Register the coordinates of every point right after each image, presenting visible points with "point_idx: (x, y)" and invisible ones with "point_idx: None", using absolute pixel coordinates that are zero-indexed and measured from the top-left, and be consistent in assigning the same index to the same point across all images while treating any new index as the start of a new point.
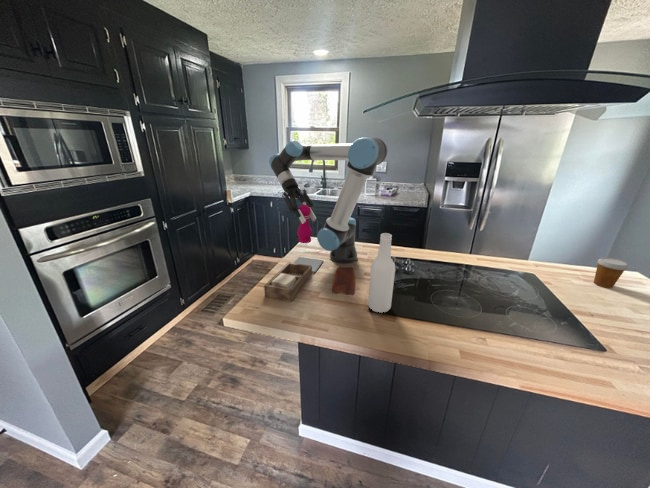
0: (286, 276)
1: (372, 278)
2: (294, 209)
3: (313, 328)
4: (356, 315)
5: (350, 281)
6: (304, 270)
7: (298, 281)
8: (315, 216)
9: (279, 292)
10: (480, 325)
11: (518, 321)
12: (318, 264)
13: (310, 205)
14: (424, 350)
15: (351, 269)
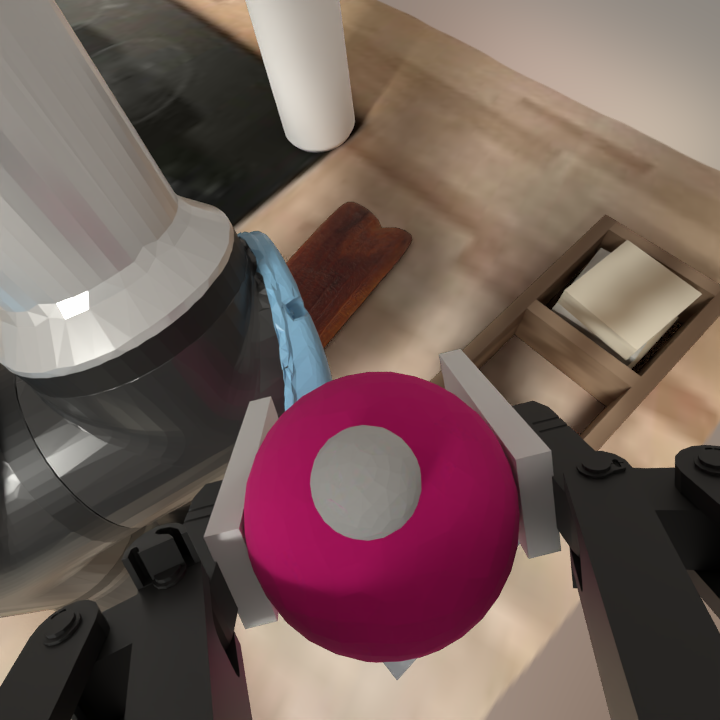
0: (612, 308)
1: (339, 8)
2: (651, 477)
3: (559, 117)
4: (409, 121)
5: (300, 268)
6: None
7: (555, 267)
8: (246, 415)
9: None
10: (173, 19)
11: (93, 7)
12: None
13: (157, 582)
14: (349, 5)
15: None
